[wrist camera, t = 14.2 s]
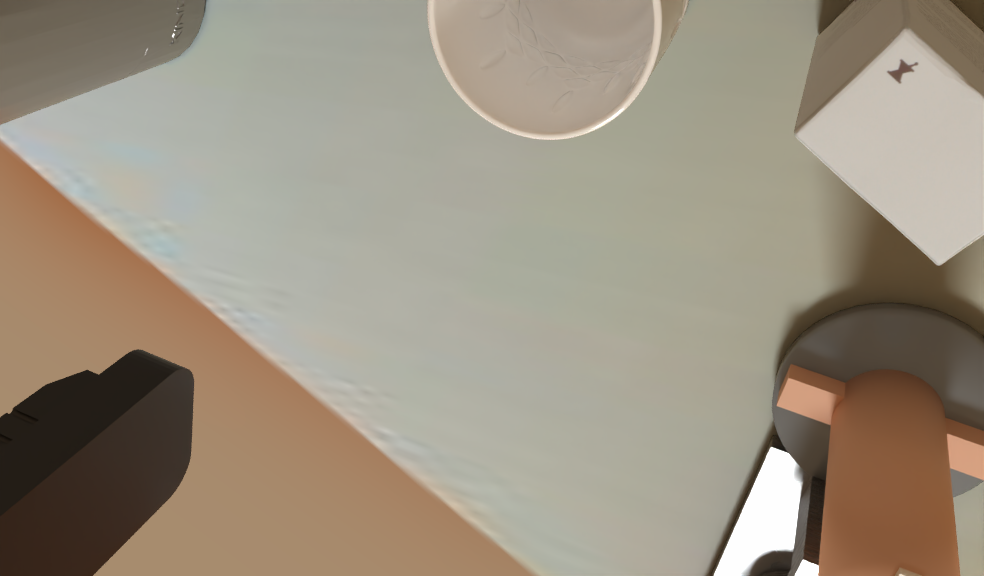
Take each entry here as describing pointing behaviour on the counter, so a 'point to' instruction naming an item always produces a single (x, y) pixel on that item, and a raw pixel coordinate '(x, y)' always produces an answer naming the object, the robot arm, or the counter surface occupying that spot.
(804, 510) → the keeper post
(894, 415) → the knob
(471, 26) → the white cup
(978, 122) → the skincare box
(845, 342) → the coaster
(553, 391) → the counter surface
